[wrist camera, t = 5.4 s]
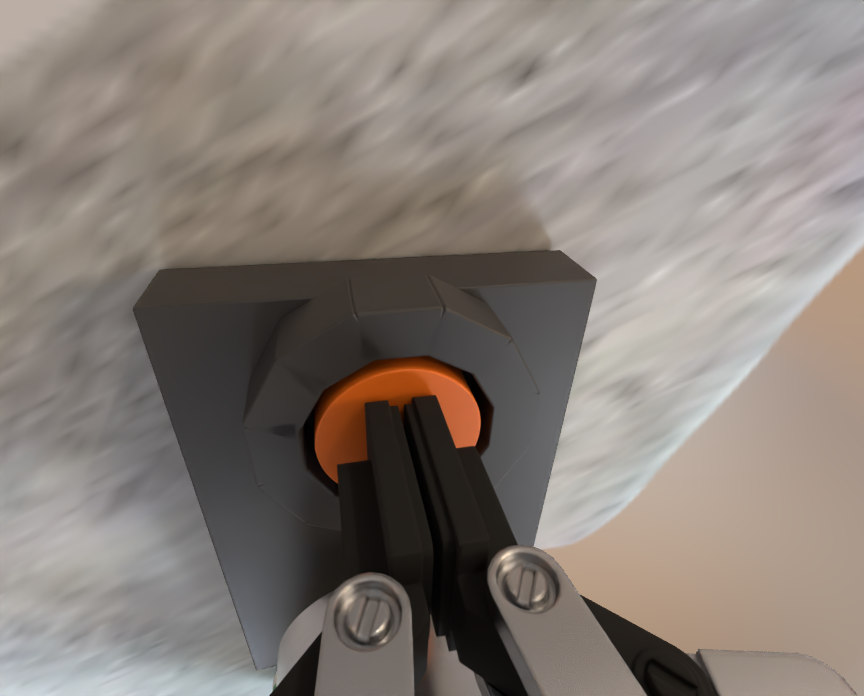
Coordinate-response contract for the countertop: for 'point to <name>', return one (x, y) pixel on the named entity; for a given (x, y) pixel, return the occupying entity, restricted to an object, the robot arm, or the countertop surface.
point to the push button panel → (331, 362)
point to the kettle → (445, 676)
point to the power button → (397, 383)
